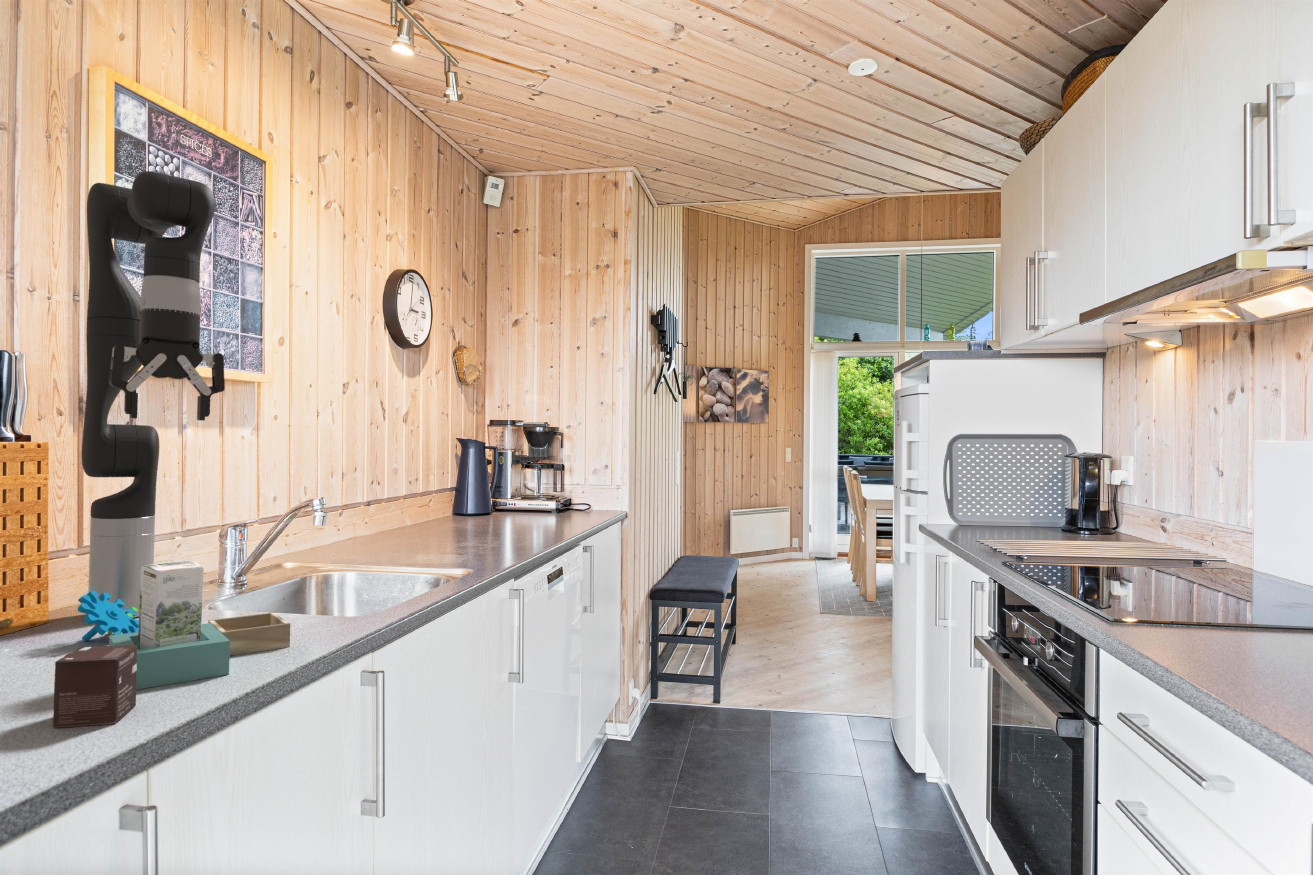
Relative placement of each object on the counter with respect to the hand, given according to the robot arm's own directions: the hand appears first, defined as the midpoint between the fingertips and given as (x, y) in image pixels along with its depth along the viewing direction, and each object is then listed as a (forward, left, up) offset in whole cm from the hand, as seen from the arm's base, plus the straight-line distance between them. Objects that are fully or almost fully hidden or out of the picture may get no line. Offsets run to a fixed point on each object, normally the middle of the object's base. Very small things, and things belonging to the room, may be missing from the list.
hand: (167, 419), depth 112 cm
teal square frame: (+13, -1, -34) cm, 37 cm away
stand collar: (+5, +11, -34) cm, 36 cm away
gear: (-10, -5, -34) cm, 36 cm away
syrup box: (+13, -1, -34) cm, 37 cm away
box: (+27, -10, -34) cm, 45 cm away
